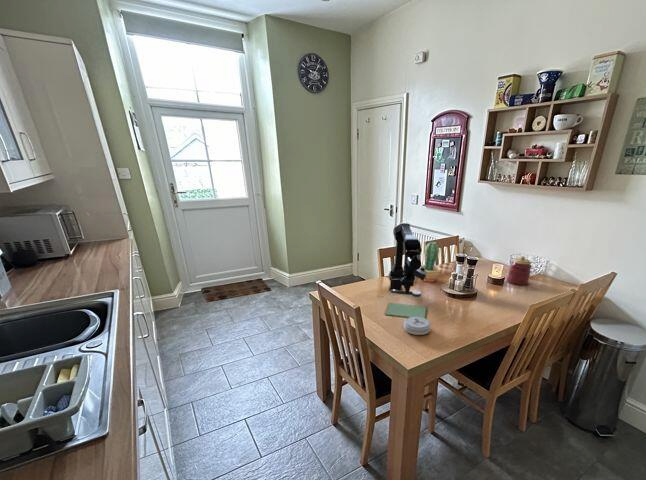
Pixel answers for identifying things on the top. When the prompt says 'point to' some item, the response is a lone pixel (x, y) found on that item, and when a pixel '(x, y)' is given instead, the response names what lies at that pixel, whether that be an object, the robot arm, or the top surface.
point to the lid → (417, 325)
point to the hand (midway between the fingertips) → (407, 292)
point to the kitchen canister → (519, 271)
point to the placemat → (406, 310)
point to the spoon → (414, 293)
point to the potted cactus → (431, 262)
